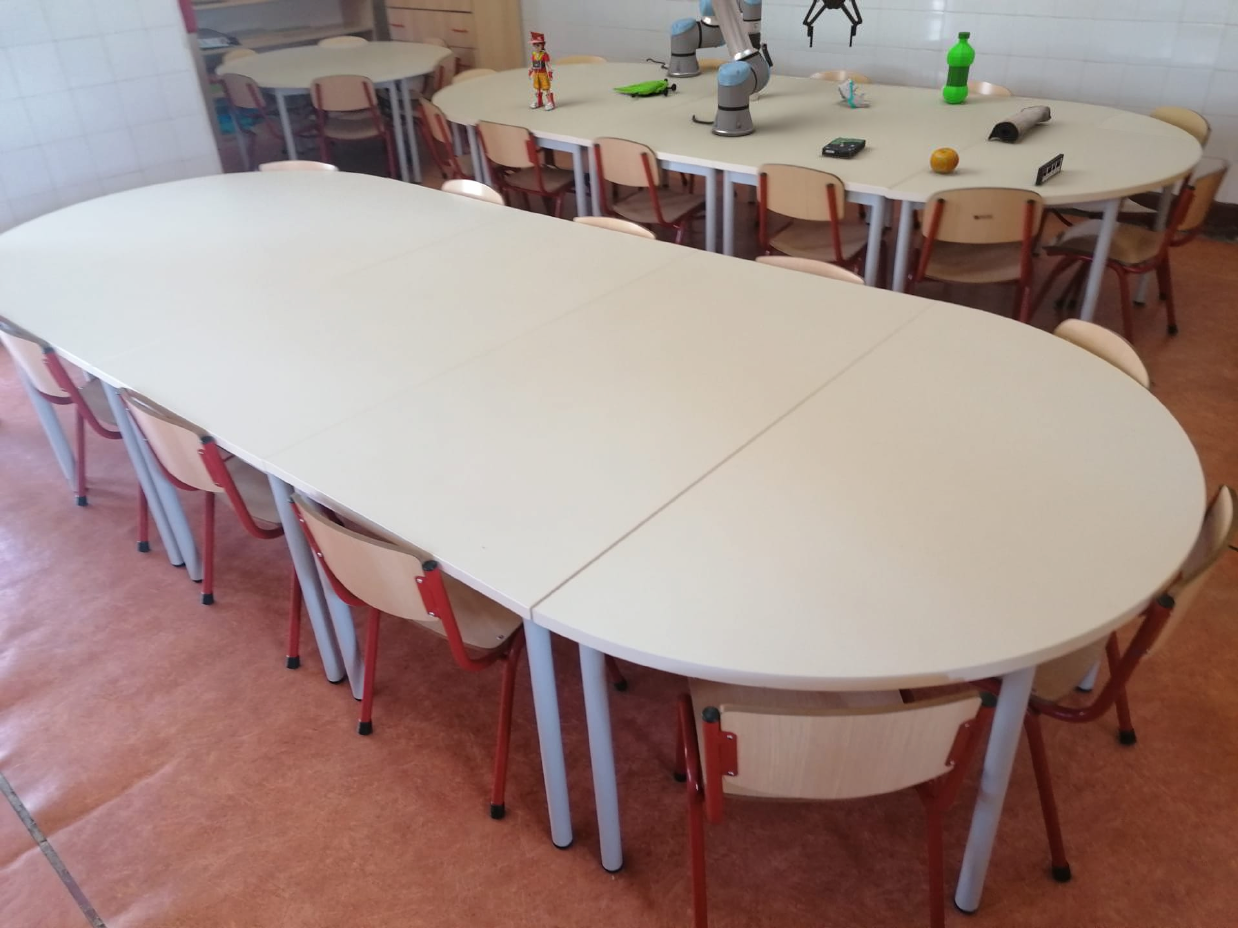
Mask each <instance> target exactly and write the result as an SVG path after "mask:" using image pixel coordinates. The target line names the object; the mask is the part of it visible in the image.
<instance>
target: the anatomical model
mask: <svg viewBox="0 0 1238 928" xmlns="http://www.w3.org/2000/svg"><path fill="white" fill-rule="evenodd" d="M853 86H854V87H853ZM858 89H859V86H855V83H854V81H853V80H851V78H846V80H845V82H844V83H840V84H838V87H837V90H838V92H839V95H840V96H841V98H842V100H846V101H847V102H848V104H849V105H850V107H851V108H858V107H860V106H869V105H870V104H871V103H870V101H865V100H864V97H865V95H867V92H865V91H863V92H861V93H860V94H856V91H857V90H858Z"/></svg>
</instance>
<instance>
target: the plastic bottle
mask: <svg viewBox="0 0 1238 928" xmlns="http://www.w3.org/2000/svg"><path fill="white" fill-rule="evenodd" d="M970 36H971V32H970V31H959V32H958V36H957V39H958V42H957V43H956V44H954V45H953V46H952V47H951V48H950V49H949V50H948V52H947V54H946V63H947V64H948V69H947V70H948V71H947V76H946V77H947V78H946V84H945V85H944V87H943V90H942V97H943V99H944V100H945V101H946V102H947V103H948V104H960V103H961V102H963V101H964V100H966V98H967V96H968V95H969V85H968V79H969V73H970V67H971V65H972V64H973V63H974V61H975V57H976V51H975V49H974V47H972V45H971V44H970V43H969V42H968V41H969V39H970V38H971V37H970Z"/></svg>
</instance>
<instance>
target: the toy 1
mask: <svg viewBox="0 0 1238 928" xmlns="http://www.w3.org/2000/svg"><path fill="white" fill-rule="evenodd" d="M529 33H530V35H531V36H528V37H527V38H528V39H529V40H528V41H527V43H529V44H530V43H531V44H532V48H533V50H534V51H533V52H532V55H531V58H530V59H531V63H530V66H528V74H527V75H528V76H527V77H528V79H529V80H531V75H532V74H533V84H532V85H533V86H532V87H533V88H534V89H535V90H536V92H534V95H535V97H536V100H535V101H533V102H531V105H530V108H531V109H535V108H538V107H542V106H544V101H543V100H544V99H543V95H544V92H546V94H545V97H546V99H547V103H546V104H545V106H544V110H546V111H549V110H553V109H554V107H555V106H556V105H555V99H554V92H551V91H550V90H551V86H552V84H551V82H552V81H553V80H554V77H553V73H554V71H555V70H554V69H552V68H551V63H550V61H551V59H550V58H551V57H550V54H549V53H548V52H547V50H546V48H545V46H546V44H547V41H545V35H544V33H543V32H542V33H539V32H535V31H529Z"/></svg>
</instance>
